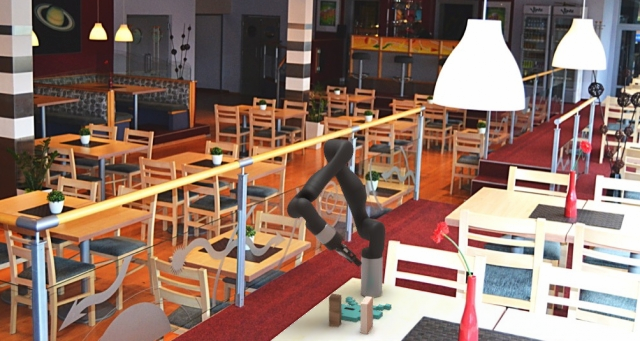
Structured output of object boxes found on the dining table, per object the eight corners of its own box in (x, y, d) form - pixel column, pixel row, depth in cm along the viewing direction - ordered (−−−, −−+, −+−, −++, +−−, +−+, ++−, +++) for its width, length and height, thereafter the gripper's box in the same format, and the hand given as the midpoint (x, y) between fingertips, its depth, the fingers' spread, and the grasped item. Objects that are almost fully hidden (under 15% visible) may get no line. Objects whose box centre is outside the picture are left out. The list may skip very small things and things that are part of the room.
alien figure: (347, 301, 351) (326, 317, 333) (347, 296, 350) (326, 312, 333) (391, 309, 341) (371, 326, 324) (391, 304, 341) (371, 321, 324)
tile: (365, 325, 324) (365, 296, 322) (372, 325, 324) (373, 297, 321) (360, 332, 317) (360, 303, 314) (368, 333, 316) (368, 304, 314)
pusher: (331, 322, 327) (331, 293, 325) (341, 323, 326) (341, 294, 324) (328, 326, 324) (328, 297, 321) (338, 327, 322) (338, 298, 320)
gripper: (340, 231, 314) (369, 259, 318) (328, 226, 327) (356, 253, 332) (327, 246, 312) (356, 273, 317) (316, 240, 326) (344, 267, 330)
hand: (356, 263), depth 324 cm, fingers open, 8 cm apart
